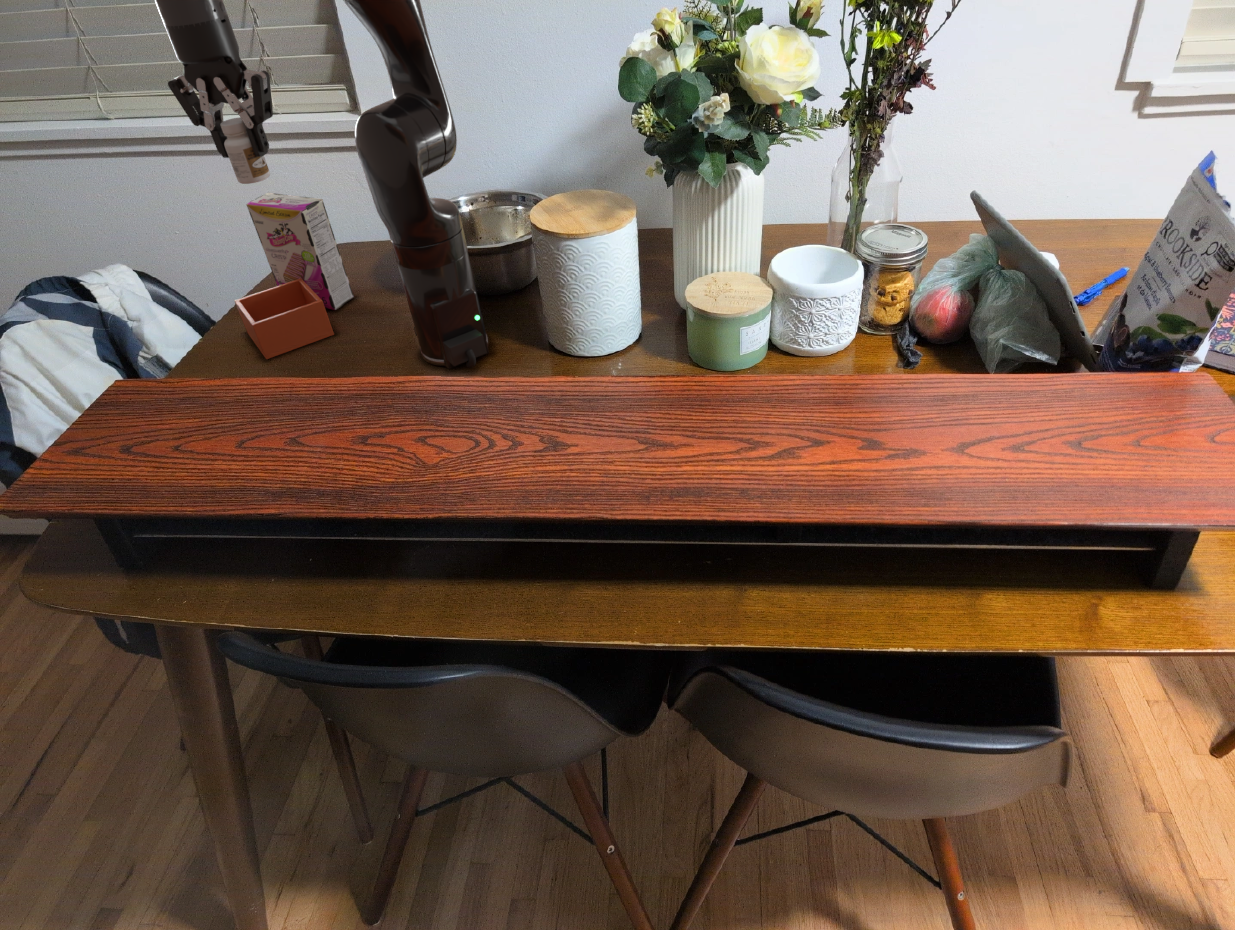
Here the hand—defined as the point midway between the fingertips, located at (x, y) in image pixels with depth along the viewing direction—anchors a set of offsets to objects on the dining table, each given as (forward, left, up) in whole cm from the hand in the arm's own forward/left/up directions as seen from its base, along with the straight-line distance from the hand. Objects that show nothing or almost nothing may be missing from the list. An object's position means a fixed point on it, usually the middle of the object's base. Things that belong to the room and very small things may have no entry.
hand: (246, 154), depth 115 cm
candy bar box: (+5, -4, -25) cm, 26 cm away
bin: (-3, +3, -25) cm, 25 cm away
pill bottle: (0, 0, -4) cm, 4 cm away
